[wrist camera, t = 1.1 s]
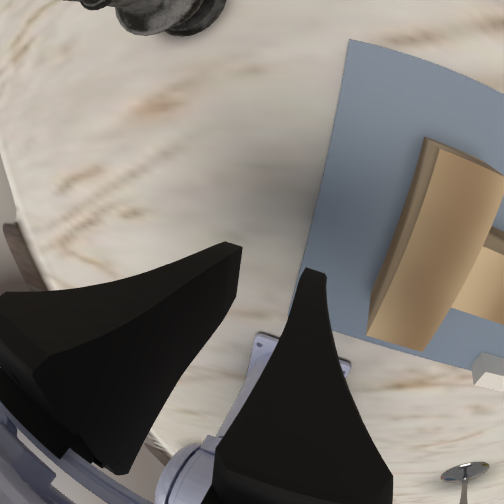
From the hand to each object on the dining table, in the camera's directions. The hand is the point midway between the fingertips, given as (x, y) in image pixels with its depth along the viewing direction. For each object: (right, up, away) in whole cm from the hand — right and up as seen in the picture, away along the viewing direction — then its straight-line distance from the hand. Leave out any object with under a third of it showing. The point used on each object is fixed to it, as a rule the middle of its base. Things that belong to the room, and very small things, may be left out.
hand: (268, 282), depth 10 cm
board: (+14, +1, +5) cm, 15 cm away
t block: (+12, +1, +5) cm, 13 cm away
